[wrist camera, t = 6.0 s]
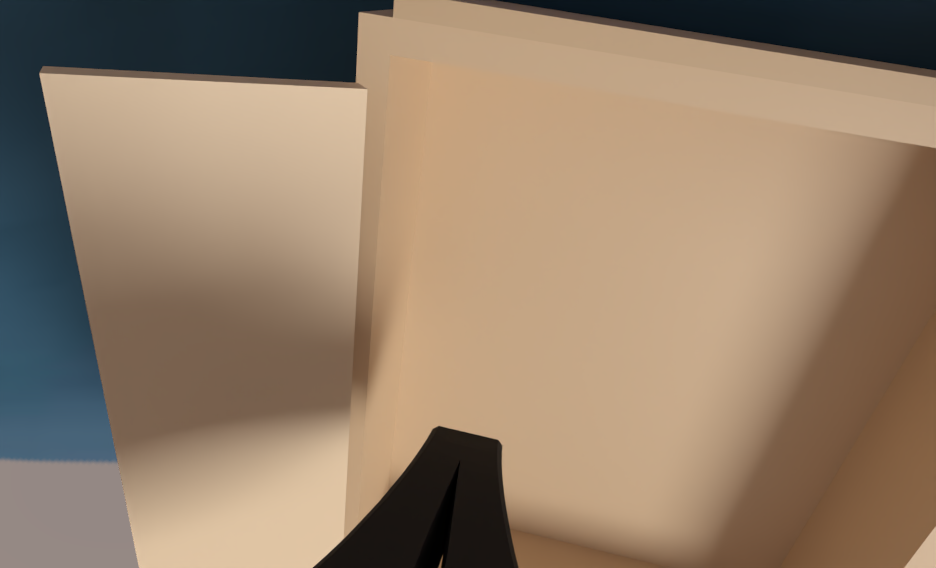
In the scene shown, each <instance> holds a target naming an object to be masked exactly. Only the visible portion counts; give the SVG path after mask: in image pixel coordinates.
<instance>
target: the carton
mask: <svg viewBox="0 0 936 568" xmlns="http://www.w3.org/2000/svg"><path fill="white" fill-rule="evenodd" d="M356 83H359V84H361V85H362V86H364V87H365V88H367V108H366V126H365V145H364V164H363V183H362V202H361V220H360V239H359V258H358V277H357V296H356V315H355V333H354V352H353V371H352V390H351V409H350V427H349V446H348V465H347V484H346V503H345V521H344V538H345V537H346V536H347V535H348V534H349V533H350V532H351V531H352V530H353V529H354V528H355V527H356V526H357V524H358V523H359V522H360V521H361V520H362V519H363V518H364V517H365V516H366V515H367V514H368V513H369V512H370V511H371V510H372V509H373V507H374V506H375V505H376V504H377V503H378V502H379V501H380V500H381V499H382V497H383V496H384V495H385V494H386V493H387V491H388V490H389V489H390V488H391V487H392V485H393V484H394V483H395V482H396V481H397V479H398V478H399V477H400V476H401V475H402V473H403V472H404V471H405V469H406V468H407V467H408V465H409V464H410V463H411V461H412V460H413V459H414V457H415V456H416V455H417V453H418V452H419V450H420V449H421V447H422V446H423V444H424V443H425V441H426V440H427V438H428V436H429V435H430V433H431V431H432V429H433V428H435V427H437V426H442V427H446V428H450V429H454V430H459V431H463V432H467V433H471V434H476V435H480V436H484V437H488V438H493V439H497V440H499V441H500V443H501V444H502V477H503V487H504V496H505V503H506V510H507V515H508V521H509V526H510V531H511V537H512V542H513V546H514V551H515V555H516V559H517V563H518V567H519V568H936V70H930V69H924V68H917V67H911V66H905V65H898V64H892V63H886V62H880V61H873V60H867V59H861V58H854V57H848V56H842V55H836V54H829V53H823V52H817V51H810V50H804V49H798V48H791V47H785V46H779V45H773V44H766V43H760V42H754V41H747V40H741V39H735V38H729V37H722V36H716V35H710V34H703V33H697V32H691V31H685V30H678V29H672V28H666V27H659V26H653V25H647V24H641V23H634V22H628V21H622V20H615V19H609V18H603V17H597V16H590V15H584V14H578V13H571V12H565V11H559V10H552V9H546V8H540V7H534V6H527V5H521V4H515V3H508V2H502V1H496V0H394V8H393V9H390V10H377V11H365V12H359V21H358V44H357V67H356ZM442 558H443V556H442ZM441 564H442V559H441V561H440V564H439V567H438V568H441Z"/></svg>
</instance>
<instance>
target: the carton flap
mask: <svg viewBox="0 0 936 568" xmlns="http://www.w3.org/2000/svg"><path fill="white" fill-rule="evenodd" d="M39 74H40V79H41V84H42V89H43V94H44V99H45V104H46V109H47V114H48V119H49V124H50V129H51V134H52V139H53V144H54V149H55V153H56V158H57V163H58V168H59V173H60V178H61V183H62V188H63V193H64V198H65V203H66V208H67V213H68V218H69V223H70V228H71V233H72V238H73V243H74V248H75V253H76V258H77V263H78V267H79V272H80V277H81V282H82V287H83V292H84V297H85V302H86V307H87V312H88V317H89V322H90V327H91V332H92V337H93V342H94V347H95V352H96V357H97V362H98V367H99V372H100V376H101V381H102V386H103V391H104V396H105V401H106V406H107V411H108V416H109V421H110V426H111V431H112V436H113V441H114V446H115V451H116V456H117V461H118V465H119V470H120V475H121V480H122V485H123V490H124V495H125V500H126V505H127V510H128V515H129V520H130V525H131V530H132V535H133V540H134V545H135V550H136V555H137V560H138V565H139V568H313V567H314V566H315V565H316V564H317V563H318V562H319V561H321V560H322V559H323V558H324V557H325V556H326V555H327V554H328V553H329V552H330V551H331V550H333V549H334V548H335V547H336V546H337V545H338V544H339V543H340V542H341V541H342V540H343V539H344V521H345V503H346V484H347V465H348V446H349V427H350V409H351V390H352V371H353V352H354V333H355V315H356V296H357V277H358V258H359V239H360V220H361V202H362V183H363V164H364V145H365V126H366V108H367V88H365V87H364V86H362V85H361V84H359V83H352V82H334V81H315V80H296V79H277V78H258V77H240V76H221V75H202V74H183V73H164V72H146V71H127V70H108V69H89V68H70V67H52V66H43V67H42V69H41V71H40V73H39Z"/></svg>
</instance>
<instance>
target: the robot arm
mask: <svg viewBox="0 0 936 568" xmlns="http://www.w3.org/2000/svg"><path fill="white" fill-rule="evenodd" d="M442 556H443V558H442ZM441 559H442V564H441V568H519V567H518V563H517V559H516V555H515V551H514V546H513V542H512V537H511V531H510V526H509V521H508V515H507V510H506V503H505V496H504V487H503V477H502V444H501V443H500V441H499V440H497V439H493V438H488V437H484V436H480V435H476V434H471V433H467V432H463V431H459V430H454V429H450V428H446V427H442V426H437V427H435V428H433V429H432V431H431V433H430V435H429V436H428V438H427V440H426V441H425V443H424V444H423V446H422V447H421V449H420V450H419V452H418V453H417V455H416V456H415V457H414V459H413V460H412V461H411V463H410V464H409V465H408V467H407V468H406V469H405V471H404V472H403V473H402V475H401V476H400V477H399V478H398V479H397V481H396V482H395V483H394V484H393V485H392V487H391V488H390V489H389V490H388V491H387V493H386V494H385V495H384V496H383V497H382V499H381V500H380V501H379V502H378V503H377V504H376V505H375V506H374V507H373V509H372V510H371V511H370V512H369V513H368V514H367V515H366V516H365V517H364V518H363V519H362V520H361V521H360V522H359V523H358V524H357V526H356V527H355V528H354V529H353V530H352V531H351V532H350V533H349V534H348V535H347V536H346V537H345V538H344V539H343V540H342V541H341V542H340V543H339V544H338V545H337V546H336V547H335V548H334V549H333V550H331V551H330V552H329V553H328V554H327V555H326V556H325V557H324V558H323V559H322V560H321V561H319V562H318V563H317V564H316V565H315V566H314V567H313V568H438V567H439V564H440V561H441Z"/></svg>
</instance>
